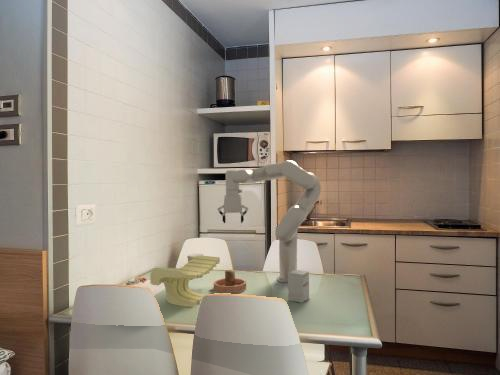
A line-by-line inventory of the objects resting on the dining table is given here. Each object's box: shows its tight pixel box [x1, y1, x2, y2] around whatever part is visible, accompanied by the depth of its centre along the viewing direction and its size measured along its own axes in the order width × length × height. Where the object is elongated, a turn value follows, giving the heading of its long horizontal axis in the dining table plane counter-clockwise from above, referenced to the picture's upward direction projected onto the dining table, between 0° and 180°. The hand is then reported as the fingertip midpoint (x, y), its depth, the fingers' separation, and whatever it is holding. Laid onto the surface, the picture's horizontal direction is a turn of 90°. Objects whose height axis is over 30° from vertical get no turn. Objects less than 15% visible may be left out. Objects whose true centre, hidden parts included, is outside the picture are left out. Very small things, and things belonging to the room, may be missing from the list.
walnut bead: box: [224, 269, 236, 286], centre depth 201 cm, size 5×5×8 cm
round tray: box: [213, 277, 247, 294], centre depth 201 cm, size 16×16×4 cm
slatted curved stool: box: [149, 255, 221, 308], centre depth 184 cm, size 30×16×18 cm, turn 150°
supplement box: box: [287, 269, 310, 303], centre depth 182 cm, size 7×7×13 cm
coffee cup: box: [187, 253, 204, 278], centre depth 229 cm, size 9×9×12 cm
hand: (233, 222), depth 225 cm, fingers open, 9 cm apart
